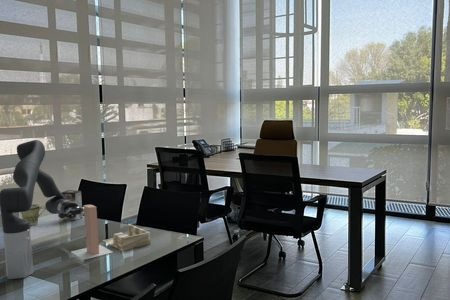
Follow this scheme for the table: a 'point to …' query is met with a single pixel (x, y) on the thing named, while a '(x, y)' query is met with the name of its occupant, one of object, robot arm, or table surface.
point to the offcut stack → (118, 239)
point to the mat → (83, 253)
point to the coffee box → (73, 200)
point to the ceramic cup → (32, 214)
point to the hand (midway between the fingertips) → (81, 214)
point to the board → (91, 229)
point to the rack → (132, 238)
